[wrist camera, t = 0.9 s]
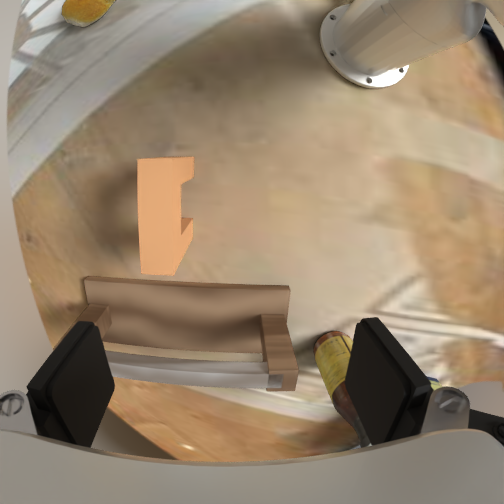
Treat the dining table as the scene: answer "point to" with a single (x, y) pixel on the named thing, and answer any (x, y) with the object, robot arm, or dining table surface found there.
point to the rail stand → (194, 330)
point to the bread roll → (84, 11)
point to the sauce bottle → (338, 377)
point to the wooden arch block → (163, 213)
